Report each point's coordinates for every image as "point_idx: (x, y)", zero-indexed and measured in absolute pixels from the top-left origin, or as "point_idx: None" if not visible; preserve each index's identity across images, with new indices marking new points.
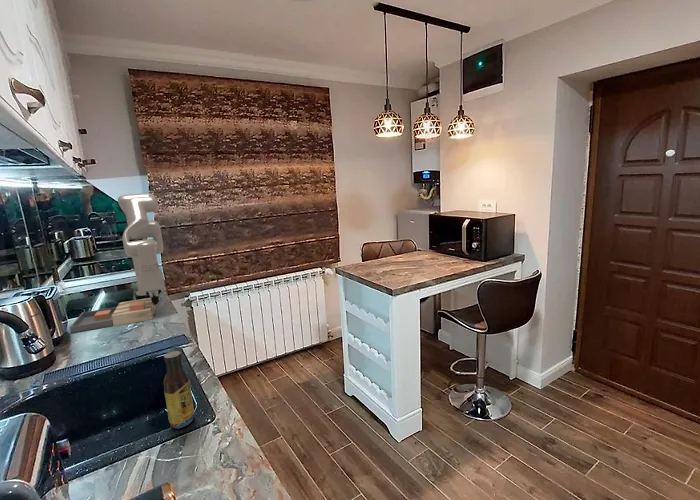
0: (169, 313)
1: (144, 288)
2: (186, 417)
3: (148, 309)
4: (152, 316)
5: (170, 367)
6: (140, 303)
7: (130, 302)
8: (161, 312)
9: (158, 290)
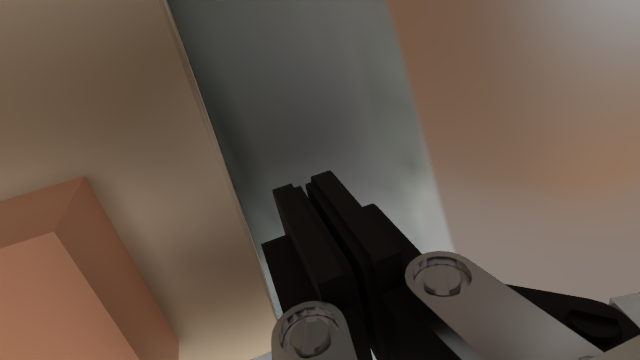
0: (387, 135)
1: None
2: None
3: (257, 351)
4: (254, 247)
5: None
6: None
7: None
8: (286, 75)
9: (563, 356)
